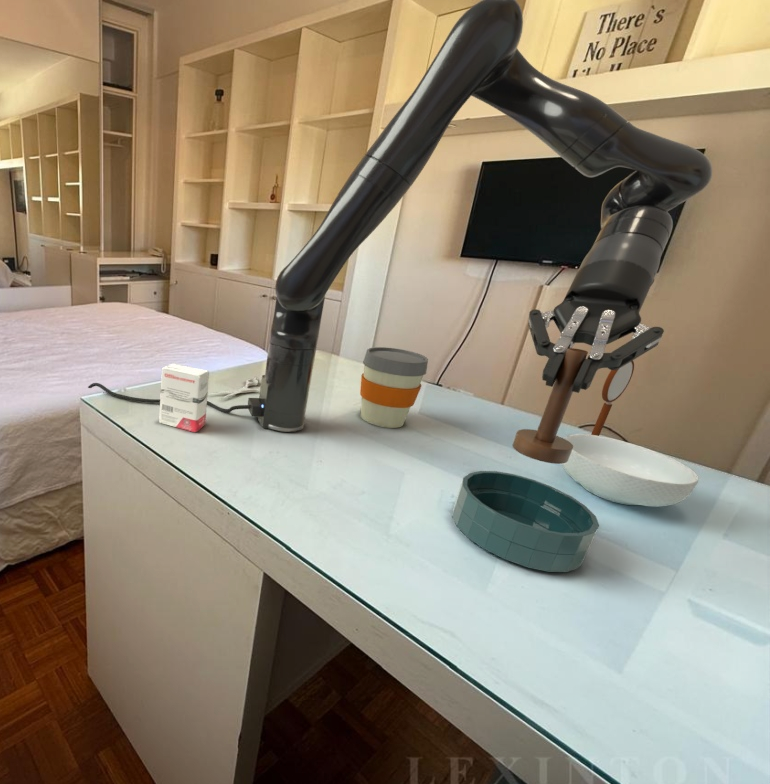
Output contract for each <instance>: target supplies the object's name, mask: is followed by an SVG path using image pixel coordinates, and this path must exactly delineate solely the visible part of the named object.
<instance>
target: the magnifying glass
mask: <svg viewBox="0 0 770 784" xmlns="http://www.w3.org/2000/svg"><path fill="white" fill-rule="evenodd" d="M634 370H635V362H634V360H633V361H631V362H629V363H628V364H626V365H624V366H623V367H621V368H619V369H618V370H610V371H609V373H608V375H607V376H606V379H605V381H604V384H603V386H602V389H601V398H602V400H603V401H604V403H603V404H602V407H601V409H600V412H599V414H598V417H597V419H596V422H595V424H594V426H593V428H592V431H591V433H590V435H596V436H601V433H602V430H603V428H604V425H605V423H606V422H607V418H608V417H609V413H610V411H611V409H612V407H613V404H612V403H613V402H614V401H616V400H618V399H619V398H620V397H621V396H622V394H623V393H624V392H625V390H626V389H627V387H628V386H629V384H630V382H631V379H632V377H633V374H634Z"/></svg>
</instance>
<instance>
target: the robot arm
mask: <svg viewBox="0 0 770 784" xmlns="http://www.w3.org/2000/svg"><path fill="white" fill-rule="evenodd" d="M523 25H524V16H523V11H522V8H521V6H520V4H519V3H518V1H517V0H481V1H479V2H477V3H475V4H474V5H472V6H471V7H470V8H469V9H467V10H466V11H465V12H464V13H463V14H462V15H461V16H460V17H459V18H458V19H457V21H456V22H455V24H454V25H453V26H452V28H451V30H450V31H449V33H448V35H447V37H446V38H445V40H444V41H443V43H442V45H441V47H440V48H439V50H438V52H437V53H436V55H435V57H434V58H433V60H432V61H431V63H430V65H429V67H428V68H427V70H426V72H425V73H424V75H423V77H422V78H421V79H420V81H419V83H418V84H417V85H416V87H415V89H414V90H413V91H412V93H411V94H410V96H408V98H407V99H406V101H405V102H404V104H403V105H402V106H401V107H400V108H399V109H398V111H397V112H396V113H395V114H394V115H393V117H392V118H391V119H390V121H389V122H388V123H387V125H386V126H385V128H384V129H383V130H382V132H380V134H379V135H378V137H377V138H376V140H375V141H374V142H373V143H372V145H371V146H370V147H369V149H368V150H367V151H366V152H365V154H364V156H362V157H361V159H360V161H359V162H358V164H357V165H356V166H355V168H354V169H353V171H352V172H351V173H350V175H349V177H348V178H347V180H346V181H345V183H344V184H343V185H342V187H341V189H340V191H339V192H338V193H337V195H336V197H335V198H334V199H333V202H332V204H331V205H330V207H329V209H328V211H327V213H326V214H325V216H324V218H323V220H322V222H321V223H320V225H319V227H317V229H316V231H315V232H314V234H313V235H312V236H311V238H310V239H308V241H307V242H306V243H305V244H304V246H303V247H302V248H301V250H300V251H299V252H298V253H297V254H296V255H295V256H294V257H293V259H292V260H291V261H290V262H289V263H288V264H287V265H285V267H283V269H282V270H281V271H280V272H279V274H278V276H277V278H276V280H275V286H274V289H275V290H274V291H275V296H276V298H275V304H274V305H275V306H274V313H273V318H272V323H271V327H270V332H269V341H268V349H267V357H266V364H265V372H264V374H263V375H261V379H260V380H261V382H260V388H259V389H260V393H259V396H258V397H248V400H247V404H240V405H239V404H238V405H232V406H231V407H229V408H223V407H220V406H217V405H216V404H214V403H212V402H210V401H208V400H207V406H209V407H211V408H213V409H214V410H216V411H219V412H221V413H228V414H229V413H231V412H233V411H235V410H248V411H249V413H250V415H251V417H256V418H257V419H258V422H259V424H260V426H261V428H262V429H269V430H273V431H277V432H281V433H282V432H283V433H295V432H299V431H301V430H303V429H304V426H305V419H306V412H307V407H308V406H307V405H308V400H309V394H310V389H311V382H312V376H313V371H314V370H313V369H314V366H315V365H314V364H315V360H316V354H317V348H318V342H319V337H320V332H321V331H320V330H321V323H322V317H323V312H324V311H323V310H324V304H325V299H326V294H327V293H328V291H329V289H330V288H331V287H332V284H333V283H334V281H335V279H336V278H337V276H338V275H339V273H341V271H342V269H343V268H344V266H345V264H347V262H348V260H349V258H350V257H351V256H352V255H353V254H354V252H355V251H356V250H357V249H358V248H359V247H360V246H361V245H362V243H364V242H365V241H366V240H367V239H368V237H369V236H370V235H372V233H373V232H375V230H376V229H377V228H378V227H379V226H380V225H381V223H382V222H383V221H384V220H385V219H386V218H387V216H389V214H390V213H391V212H392V211H393V210H394V208H395V207H396V206H397V205H398V204H399V202H400V201H401V200H402V198H403V197H404V196H405V194H407V192H408V191H409V189H410V188H411V187H412V186H413V184H415V182H416V180H417V178H418V177H419V176H420V175H421V173H422V171H423V169H424V168H425V166H426V165H427V163H428V161H430V159H431V157H432V155H433V154H434V152H435V150H436V148H437V146H438V145H439V143H440V142H441V139H442V137H443V136H444V134H445V132H446V130H447V129H448V128H449V126H450V124H451V123H452V121H453V119H454V118H455V116H456V115H457V114H458V113H459V111H460V110H461V109H462V107H463V106H464V105H465V104H466V102H467V101H468V100H469V99H470V98H471V97H473V98H475V99H477V100H479V101H481V102H482V103H485V104H487V105H488V106H490V107H492V108H494V109H496V110H497V111H499V112H501V113H502V114H504V115H505V116H507V117H509V118H510V119H512V120H513V121H515V122H516V123H517V124H519V125H520V126H521V127H523V128H524V129H526V130H527V131H529V132H530V133H531V134H532V135H534V137H536V138H537V139H538V140H540V141H541V142H542V143H544V144H545V145H546V146H547V147H548V148H550V149H551V150H552V151H553V152H555V154H557V155H558V156H559V157H560V158H562V159H563V160H564V161H565V162H566V163H567V164H569V165H570V166H571V167H573V168H574V169H575V170H577V172H579V173H580V175H583V176H584V177H586V178H595V177H598V176H601V175H603V174H605V173H607V172H608V171H611V170H613V169H616V168H626V169H630V170H633V172H632V173H630V174H629V175H628V176H627V177H625V178H623V180H621V181H619V182H618V183H616V185H614V187H613V188H612V189H610V191H608V193H607V195H606V196H605V198H604V200H603V201H602V204H601V209H600V210H601V211H600V212H601V213H600V231H599V232H598V234H597V236H596V238H595V240H594V242H593V244H592V246H591V248H590V249H589V251H588V253H587V254H586V255H585V257H584V258H583V260H582V262H581V264H580V266H579V267H578V270H577V272H576V274H575V276H574V278H573V280H572V282H571V284H570V286H569V288H568V291H567V292H566V294H565V297H564V299H563V300H562V301H561V303H559V304H558V305H556V306H554V308H553V309H552V310H548V311H544V312H543V311H541V310H539V309H535V308H534V309H531V310H530V311H529V314H528V323H527V326H528V329H529V332H530V336H531V338H532V343H533V345H534V348H535V353H536V354H537V355H538V356H541V357H546V358H547V362H546V363H545V366H544V368H543V369H542V375H541V378H542V379H541V380H542V381H545V386H547V387H552V388H553V386H554V383H555V381H556V378H557V376H558V373H559V370H560V367H561V365H562V362H563V359H564V356H565V353H566V350H567V348H574V345H575V344H585V345H588V346H591V349H590V351H589V355H587V356H588V357H586V359H585V360H584V362H583V364H582V366H581V368H580V370H579V373H578V375H577V377H576V379H575V381H574V384H573V388H572V391H573V393H578V394H579V393H580V391H581V390H585V391H586V390H588V389H589V388H590V387H591V385H592V383H593V380H594V378H595V376H596V373H597V372H598V371H599V370H600V369H608V370H610V371H611V370H618V369H619V368H621V367H623V366H624V365H626V364H628V363H629V362H631V361H633V362H634V361H635V360H636V359H637V358H639V357H641V356H643V355H644V354H646V353H648V352H650V351H651V350H652V349H654V348H656V347H657V346H659V343H660V341H661V339H662V338H663V334H664V332H665V330H664V328H663V327H660V326H652V327H649V326H647V325H645V324H644V323H642V316H641V315H640V312H641V310H642V307H643V305H644V303H645V300H646V298H647V296H648V294H649V291H650V289H651V286H653V284H654V282H655V278H656V275H657V274H658V270H659V267H660V264H661V259H662V258H661V257H662V255H663V253H664V250H665V248H666V246H667V244H668V241H669V239H670V237H671V234H672V231H673V226H674V224H673V223H674V222H673V218H672V216H671V215H670V213H669V211H671V210H673V209H674V208H676V207H678V206H679V205H681V204H683V203H684V202H686V201H688V200H689V199H692V198H693V197H694V196H696V195H698V194H699V193H700V192H702V191H704V189H706V187H707V186H708V185H709V184H710V182H711V180H712V177H713V168H712V164H711V162H710V159H709V158H708V157H707V156H706V155H705V154H704V153H703V152H701V150H698V149H696V148H695V147H692V146H690V145H688V144H684V143H681V142H679V141H675V140H671V139H669V138H666V137H663V136H660V135H658V134H656V133H653V132H650V131H647V130H644V129H642V128H639V127H637V126H635V125H634V124H633V123H631V122H630V121H628V120H627V119H626V118H625V117H624V116H622V115H621V114H620V113H619V112H617V111H616V110H615V109H614V108H613V107H611V106H609V105H608V104H607V103H606V102H604V101H603V100H601V99H599V98H598V97H596V96H594V95H592V94H590V93H588V92H586V91H584V90H583V91H582V90H581V89H579V88H575V87H572V86H570V85H567V84H565V83H561V82H560V81H557V80H554V79H553V78H550V77H549V76H547V75H545V74H543V73H542V72H541V71H539V70H538V69H537V68H536V67H534V66H533V65H532V64H531V63H530V62H529V61H528V60H527V59H526V58H525V56H524V55H523V53H521V51H520V50H519V49H518V46H519V44H520V41H521V38H522V35H523V27H524V26H523ZM552 321H553V322H554V324H555V326H556V327H557V329H558V331H559V333H560V336H559V338H558V339H557V341H556V343H554V342H552V341H551V339H550V335H549V333H548V330H547V329H548V328H549V327H550V323H551V322H552ZM630 334H632V335H631V336H632V337H631V339H630V340H629V341H627V342H626V343H624V344H622V345H621V346H619V347H618V348H615V349H614V350H613V351H611V352H605V350H606V347H607V345H610V344H611V343H613V342H615V341H618V340H620V339H622V338H624V337H626V336H629V335H630ZM94 387H98V388H100V389H101V390H102V391H104V392H106V393H107V394H108V395H111V396H113V397H115V398H119V399H124V400H128V401H133V402H138V403H147V404H149V403H150V404H160V398H159V399H158V398H157V399H154V398H142V397H141V398H140V397H134V396H129V395H125V394H121V393H117V392H114V391H112V390H110V389H109V388H107V387H106V386H105V385H104V384H101V383H100V382H93V383H91V384H90V385H87V388H88V389H92V388H94Z"/></svg>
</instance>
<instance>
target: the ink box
mask: <svg viewBox="0 0 770 784" xmlns="http://www.w3.org/2000/svg"><path fill="white" fill-rule="evenodd" d="M160 377H161V378H160V396H159V399H160V403H159V415H158V416H159V417H158V422H159V424H163V425H167V426H170V427H174V428H178V429H182V430H185V431H189V432H192V433H197V432H199V431H200V430H201V429H202V428H203V427H204V426H205V425H206V418H207V417H206V416H207V408H208V407H207V406H208V405H207V401H208V396H209V393H208V392H209V379H210V371H209V370H206V369H202V368H197V367H193V366H188V365H187V366H186V365H183V364H178V363H171V364H168V365H166V366H163V368H161V376H160Z"/></svg>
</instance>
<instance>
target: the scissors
mask: <svg viewBox="0 0 770 784" xmlns="http://www.w3.org/2000/svg"><path fill="white" fill-rule="evenodd" d="M258 385H259V380H258V376H254V378H247V379H245V386H243V387H242V386H241V388H239V389H233V390H224V391H217V392H211V393H209V395H212V394H213V395H214V394H215V395H216V394H227V395H225V396H222V397H220V398H219V400H222V399H224V398H229V397H231V396H235V395H238V394H245V393H246V394H247V393H259V394H260V388H252V387H251V386H258ZM250 387H251V388H250Z"/></svg>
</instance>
